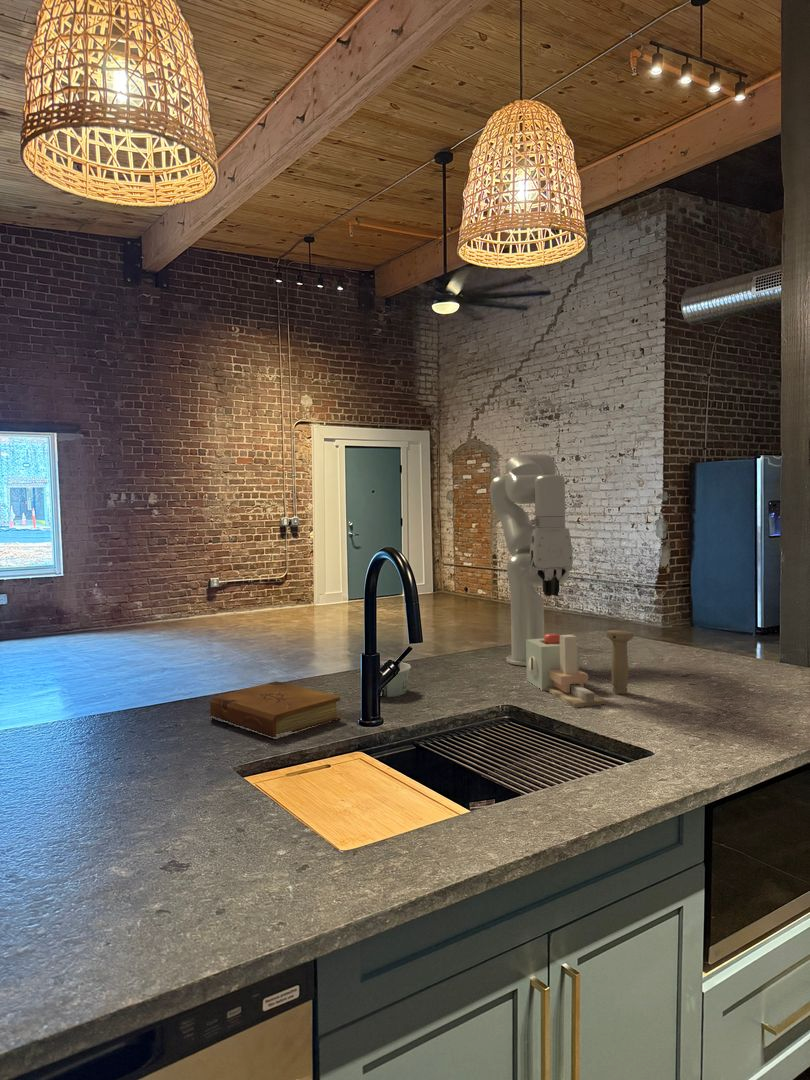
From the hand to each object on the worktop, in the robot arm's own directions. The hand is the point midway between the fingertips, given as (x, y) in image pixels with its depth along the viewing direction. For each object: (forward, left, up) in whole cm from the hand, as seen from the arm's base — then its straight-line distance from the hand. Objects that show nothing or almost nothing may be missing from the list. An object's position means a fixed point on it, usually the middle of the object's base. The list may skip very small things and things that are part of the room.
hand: (551, 595), depth 192 cm
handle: (+13, +12, -23) cm, 29 cm away
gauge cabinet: (0, 0, -23) cm, 23 cm away
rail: (+13, 0, -23) cm, 27 cm away
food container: (-6, -42, -23) cm, 48 cm away
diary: (+9, -71, -24) cm, 75 cm away
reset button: (0, 0, -13) cm, 13 cm away
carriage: (+10, 0, -22) cm, 24 cm away
